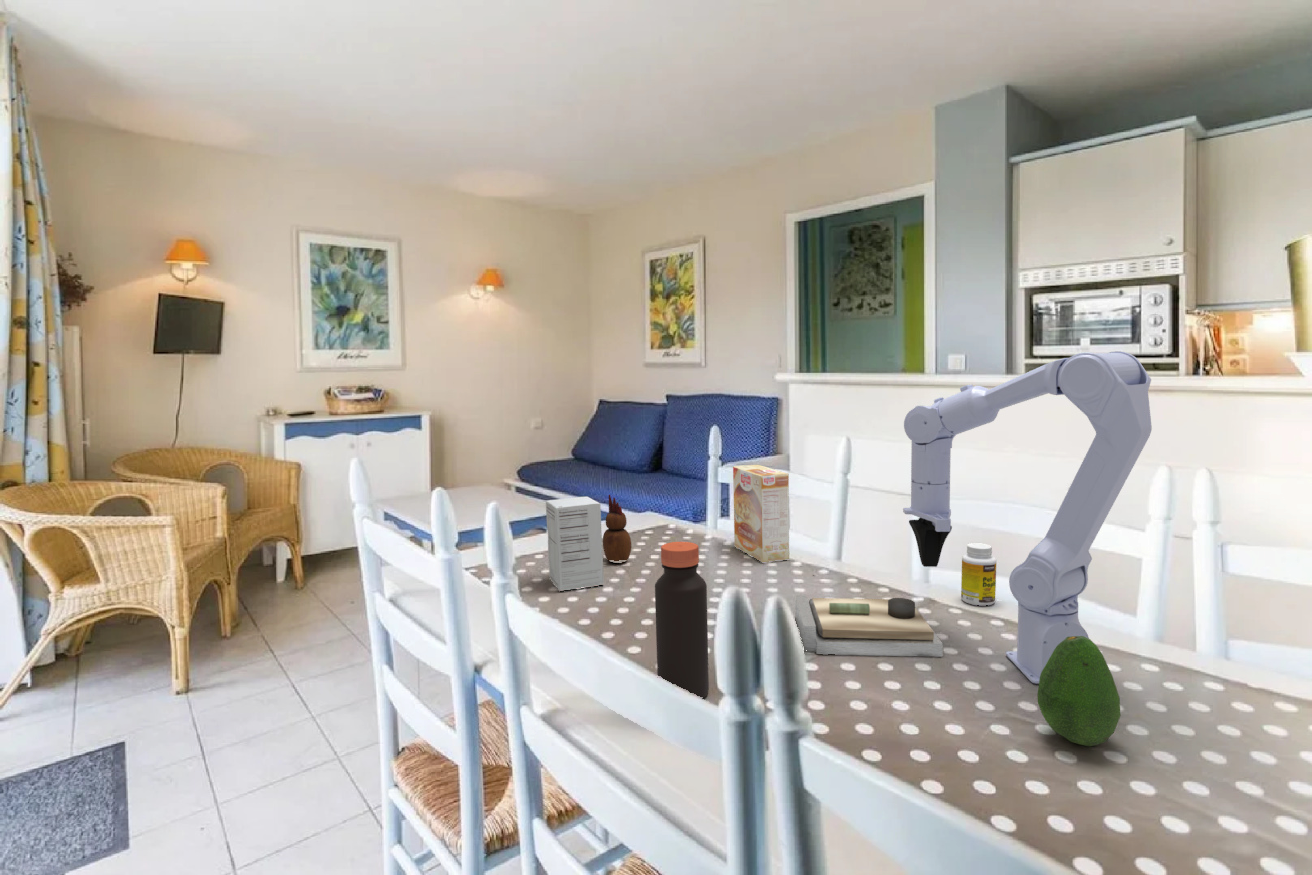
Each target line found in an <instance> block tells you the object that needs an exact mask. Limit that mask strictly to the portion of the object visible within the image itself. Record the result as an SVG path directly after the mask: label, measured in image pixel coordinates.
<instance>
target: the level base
mask: <svg viewBox="0 0 1312 875" xmlns="http://www.w3.org/2000/svg"><path fill="white" fill-rule="evenodd" d="M794 596H795V597H794V601H795V602H794V603H795V604H794V606H795V617H794V618H795V622H796V625H798V626H797V628H798V627H799V630H800V634H799V637H800V636H801V638H802V642H803V646H804V650H803V652H804V651H805V652H806V650H807V651H808V653H809V651H810V652H811V653H815V652H816V655H817V654H823V656H826V655H827V656H829V655H828V654H835V655H834V656H874V657H877V656H878V657H879V656H880V657H928V658H929V657H931V658H932V657H934V658H935V657H938V658H943V650H944V644H943V643H944V642H942V641H941V639H940V638H939V637H938V635H937V633H936V632H935V631H934V630H933V632H934V640H917V639H877V638H836V637H823V636H821V635H819V633H818V630H817V627H816V624H815V621H814V617H813V614H812V611H811V608H810V605H809V600H808V598H807V597H808V596H807V595H806V594H795V595H794ZM924 620H925V621H926V619H925V618H924ZM927 624H928V625H929V623H928V622H927ZM930 628H931V629H932V627H931V626H930ZM799 630H798V631H799ZM801 638H800V639H801ZM802 642H801V643H802ZM803 646H802V647H803ZM812 651H814V652H812ZM805 652H804V653H805Z"/></svg>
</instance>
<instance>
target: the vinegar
mask: <svg viewBox="0 0 1312 875" xmlns="http://www.w3.org/2000/svg"><path fill="white" fill-rule="evenodd" d="M699 548H700V547H699V545H698V544H696V543H694V542H690V541H672V542H667V543H663V544H662V545H661V546H660V561H661V567H662V569H663V574H662V575H661V576H660V577H658V579H657V580H656V582H655V584H654V599H655V600H654V601H655V602H654V604H655V635H656V636H655V637H656V639H655V640H656V669H657V671H656V673H657V675H658V676H661V677H662V678H663V679H665V680H667V681H669V682H671V683H672V684H676V685H677V686H679V687H681V688H683V689H686V690H688V691H689V692H690V693H694V694H696V695H697V696H700V697H703V699H705V698H706V697H707V696H708V694H709V689H710V684H709V681H710V679H709V676H710V675H709V640H708V639H709V638H708V627H709V626H708V595H707V594H708V590H707V588H708V587H707V582H706V581H705V579H704V578H703V577H702V576H701V574H699V573H698V572H697V569H698V568H699V562H700V554H699V552H700V550H699Z"/></svg>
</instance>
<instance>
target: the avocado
mask: <svg viewBox="0 0 1312 875" xmlns="http://www.w3.org/2000/svg"><path fill="white" fill-rule="evenodd" d="M1036 695H1037V703H1038V707H1039V710H1040V712H1041V715H1042V716H1043V718H1044V719H1045V721H1046V723H1047V725H1048V726H1049V727H1050V728H1051V729H1052V730H1053V732H1054V733H1057V734H1058V735H1060V736H1062V737H1063V738H1065V739H1066V740H1067V741H1069V742H1070V743H1073V744H1076V745H1079V746H1085V747H1093V746H1096V745H1101V744H1104V743H1105V742H1107V740H1108V739H1109V738H1110V737H1111V736H1112V735H1113V734H1114V733H1115V731H1116V729H1117V725H1118V723H1119V721H1120V718H1121V703H1120V702H1121V701H1120V695H1119V692H1118V689H1117V686H1116V684H1115V680H1114V677H1113V673H1112V672H1111V670H1110V668H1109V665H1108V663H1107V661H1106V659H1105V656H1104V655H1103V653H1102V652H1101V650H1100V648H1099V647H1098V646H1097V644H1095V642H1093V640H1091V639H1090V638H1089V639H1088V638H1086V637H1084V636H1073V637H1067V638H1066V639H1065V640H1063V641H1062V642H1061V643H1059V644H1058V645H1057V647H1056V648H1055V650H1054V651H1053V653H1052V655H1051V657H1050V658H1049V660H1048V662H1047V664H1046V665H1045V667H1044V669H1043V671H1042V672H1041V675H1040V680H1039V684H1038V687H1037V694H1036Z"/></svg>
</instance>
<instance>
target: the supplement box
mask: <svg viewBox="0 0 1312 875" xmlns="http://www.w3.org/2000/svg"><path fill="white" fill-rule="evenodd" d="M601 508H602V507H601V503H600V502H598V501H597V500H594V499H593V498H591V497H590V496H578V497H576V496H575V497H569V498H558V499H549V500H545V512H546V513H545V514H546V530H547V550H548V551H547V554H548V572H549V573H548V574H549V577H550V578H551V580H552V582H553V583H554V584H555V586H557V588H558V589H557V588H556V589H557V590H558V591H559V590H570V589H576V588H581V587H585V586H594V585H600V584H603V583H605V582H604V581H605V580H604V579H605V578H604V559H603V557H604V556H603V535H602V532H603V531H602V512H601V511H602V510H601ZM550 578H549V579H550ZM552 582H551V583H552ZM553 583H552V584H553ZM554 584H553V585H554ZM555 586H554V587H555Z"/></svg>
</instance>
